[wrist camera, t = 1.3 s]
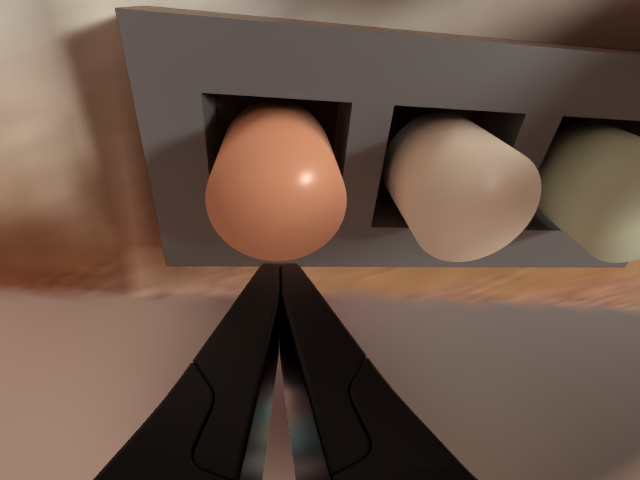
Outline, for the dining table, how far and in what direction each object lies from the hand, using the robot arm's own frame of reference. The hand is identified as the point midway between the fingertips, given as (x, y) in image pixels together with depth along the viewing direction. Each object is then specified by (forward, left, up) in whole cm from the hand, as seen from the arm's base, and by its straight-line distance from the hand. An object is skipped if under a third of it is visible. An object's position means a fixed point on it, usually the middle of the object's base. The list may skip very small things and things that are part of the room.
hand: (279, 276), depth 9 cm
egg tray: (-7, 0, -10) cm, 12 cm away
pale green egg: (-14, 0, -8) cm, 16 cm away
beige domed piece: (-7, 0, -8) cm, 11 cm away
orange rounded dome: (0, 0, -8) cm, 8 cm away
